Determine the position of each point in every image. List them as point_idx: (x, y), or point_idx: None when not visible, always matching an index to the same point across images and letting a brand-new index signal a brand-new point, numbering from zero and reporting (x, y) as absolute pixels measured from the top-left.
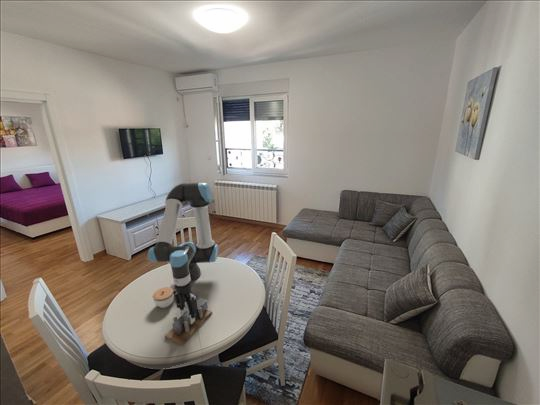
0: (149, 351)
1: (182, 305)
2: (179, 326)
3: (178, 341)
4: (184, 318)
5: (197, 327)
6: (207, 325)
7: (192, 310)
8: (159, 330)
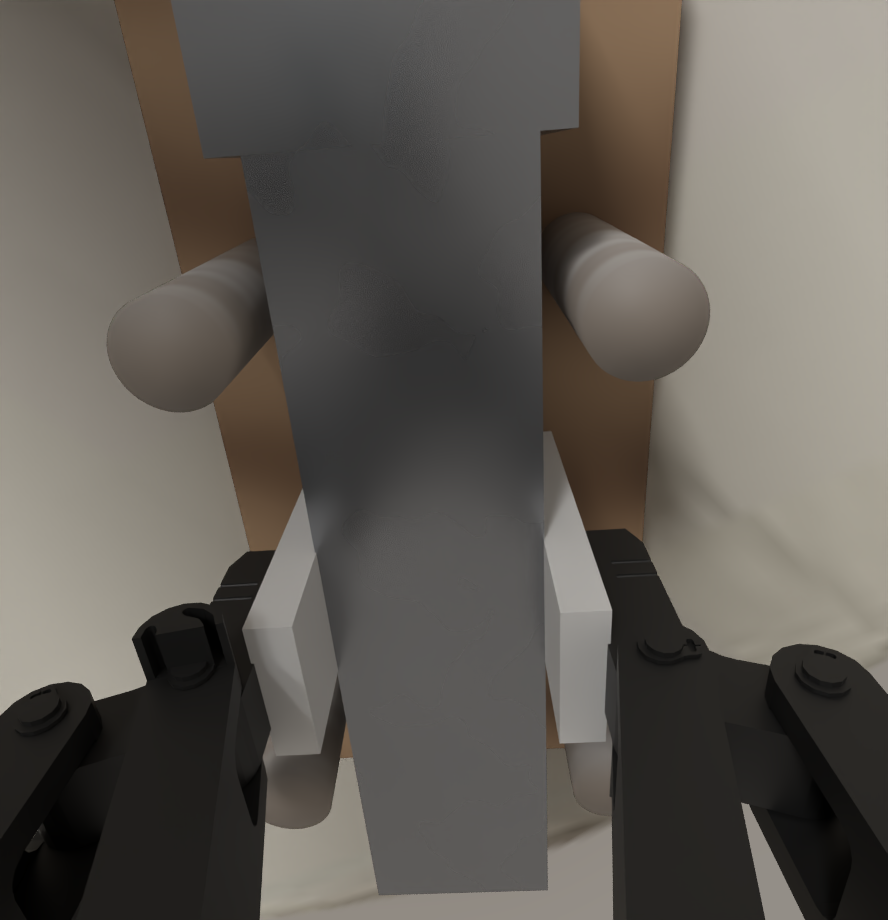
0: (323, 864)
1: (245, 893)
2: (546, 860)
3: (559, 743)
4: (487, 735)
5: (644, 456)
6: (760, 293)
7: (823, 907)
8: (122, 687)
